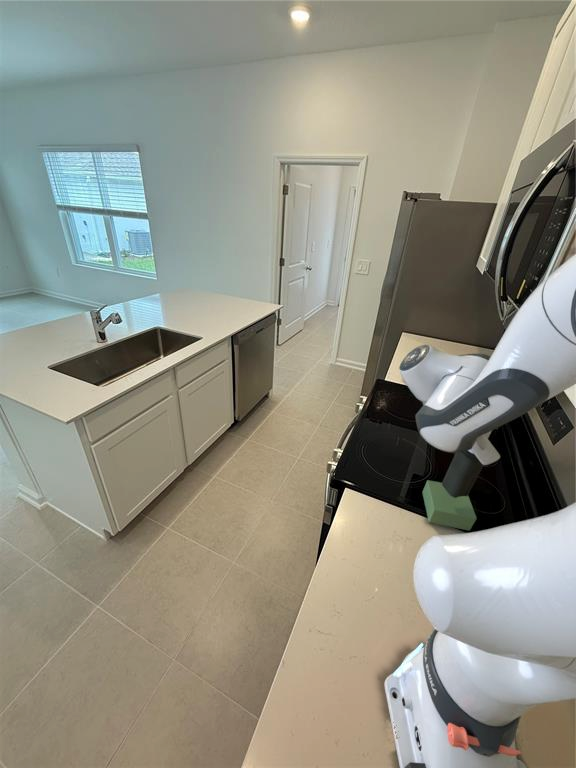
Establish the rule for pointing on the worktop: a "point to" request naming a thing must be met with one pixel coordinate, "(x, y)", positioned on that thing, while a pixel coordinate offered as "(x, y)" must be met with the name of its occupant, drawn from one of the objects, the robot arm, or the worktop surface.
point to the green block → (447, 507)
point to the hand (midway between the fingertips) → (479, 443)
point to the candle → (462, 473)
